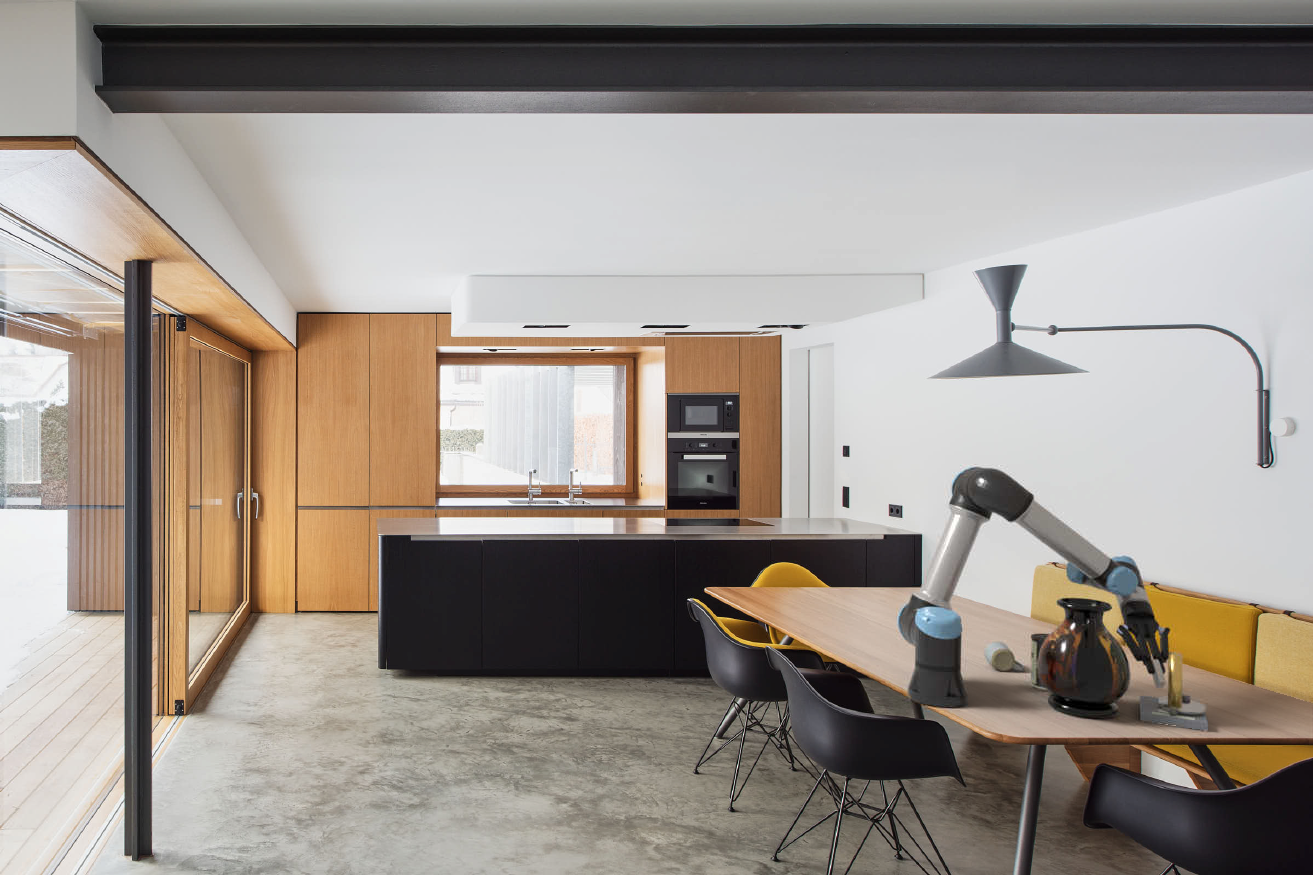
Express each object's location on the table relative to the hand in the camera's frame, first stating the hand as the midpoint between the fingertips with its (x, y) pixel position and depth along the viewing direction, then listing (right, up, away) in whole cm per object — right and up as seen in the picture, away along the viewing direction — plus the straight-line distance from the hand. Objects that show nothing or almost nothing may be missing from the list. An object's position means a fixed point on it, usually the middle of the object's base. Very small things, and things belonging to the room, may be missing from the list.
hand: (1161, 684), depth 210 cm
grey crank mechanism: (+3, -8, 0) cm, 9 cm away
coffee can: (-16, -8, +25) cm, 31 cm away
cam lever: (+4, -6, -1) cm, 7 cm away
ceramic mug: (-21, -9, +44) cm, 50 cm away
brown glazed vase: (-18, -8, +4) cm, 20 cm away
